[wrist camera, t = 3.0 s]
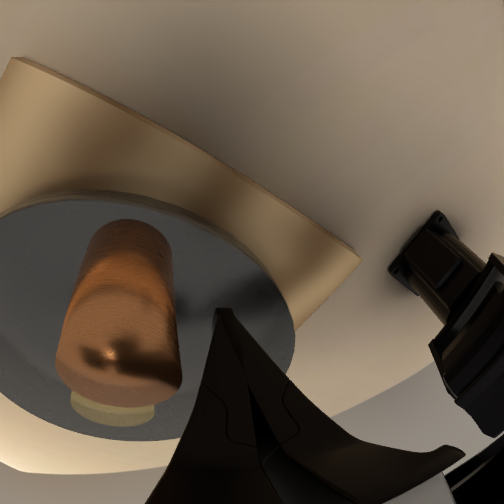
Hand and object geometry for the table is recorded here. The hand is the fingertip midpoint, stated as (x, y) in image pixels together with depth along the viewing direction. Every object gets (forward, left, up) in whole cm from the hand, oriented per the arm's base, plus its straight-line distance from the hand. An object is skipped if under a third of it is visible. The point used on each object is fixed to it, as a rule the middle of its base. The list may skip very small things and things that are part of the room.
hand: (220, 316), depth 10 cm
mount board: (+1, +9, -8) cm, 11 cm away
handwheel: (+1, +9, -4) cm, 9 cm away
